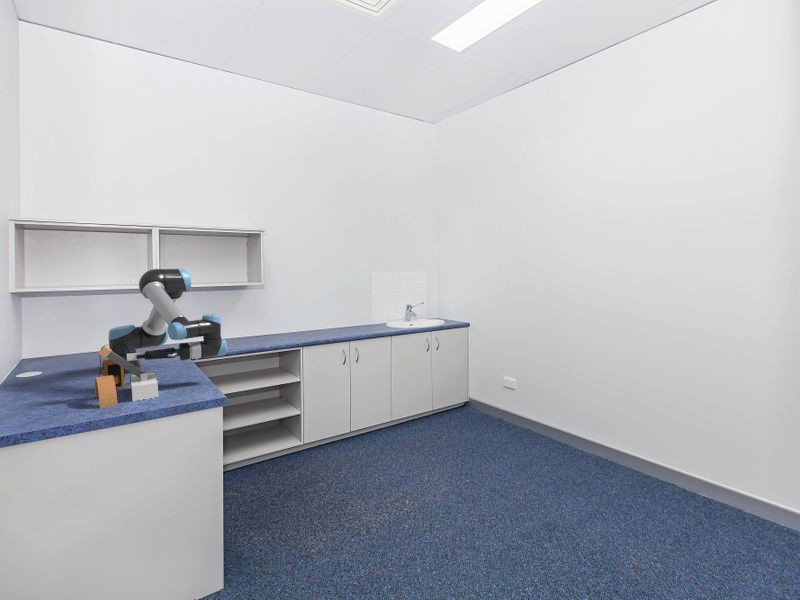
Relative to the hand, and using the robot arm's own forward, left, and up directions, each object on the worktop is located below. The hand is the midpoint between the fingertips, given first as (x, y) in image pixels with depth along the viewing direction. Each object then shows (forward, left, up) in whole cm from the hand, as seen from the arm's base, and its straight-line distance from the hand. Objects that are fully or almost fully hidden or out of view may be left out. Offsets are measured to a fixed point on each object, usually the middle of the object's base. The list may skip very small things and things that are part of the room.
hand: (126, 357), depth 179 cm
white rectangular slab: (0, +5, -16) cm, 17 cm away
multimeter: (-20, -7, -16) cm, 27 cm away
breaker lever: (0, +5, -8) cm, 10 cm away
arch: (+3, -8, -16) cm, 19 cm away
